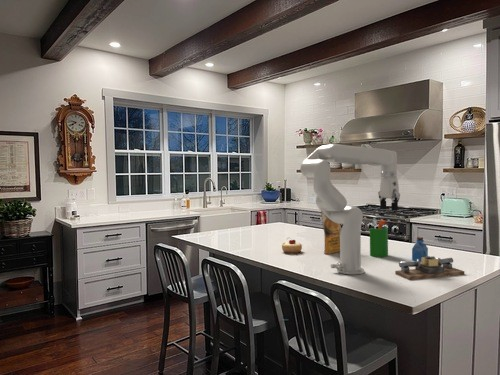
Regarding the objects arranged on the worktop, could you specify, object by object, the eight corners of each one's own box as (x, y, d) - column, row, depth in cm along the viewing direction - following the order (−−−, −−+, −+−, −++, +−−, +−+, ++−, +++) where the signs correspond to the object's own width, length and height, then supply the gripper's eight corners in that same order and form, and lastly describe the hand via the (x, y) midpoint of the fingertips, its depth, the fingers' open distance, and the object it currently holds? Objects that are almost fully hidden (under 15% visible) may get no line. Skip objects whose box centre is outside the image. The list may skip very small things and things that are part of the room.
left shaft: (416, 273, 179) (416, 258, 179) (421, 275, 175) (421, 260, 175) (398, 274, 179) (398, 259, 178) (402, 276, 175) (402, 261, 174)
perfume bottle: (415, 258, 209) (415, 236, 209) (427, 259, 206) (427, 237, 205) (412, 260, 205) (412, 238, 204) (424, 262, 201) (424, 239, 200)
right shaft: (441, 274, 178) (441, 258, 177) (433, 271, 181) (433, 257, 181) (454, 271, 181) (454, 256, 181) (447, 269, 185) (447, 255, 185)
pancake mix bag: (317, 253, 225) (316, 205, 224) (336, 248, 238) (336, 203, 237) (326, 255, 220) (326, 206, 219) (346, 250, 233) (345, 204, 232)
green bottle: (376, 252, 224) (376, 218, 223) (391, 255, 218) (391, 219, 217) (367, 255, 217) (367, 220, 216) (382, 258, 211) (382, 221, 210)
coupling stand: (408, 279, 169) (408, 270, 169) (395, 274, 179) (395, 265, 179) (464, 274, 176) (464, 265, 176) (448, 269, 186) (448, 260, 186)
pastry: (301, 255, 224) (301, 240, 223) (280, 254, 226) (280, 239, 225) (302, 250, 235) (302, 236, 234) (283, 249, 238) (283, 235, 237)
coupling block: (438, 272, 176) (438, 257, 175) (428, 272, 174) (428, 258, 174) (430, 269, 180) (430, 255, 180) (421, 270, 179) (421, 256, 179)
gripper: (406, 175, 185) (406, 211, 186) (385, 175, 202) (385, 207, 203) (392, 176, 184) (392, 211, 184) (372, 175, 200) (372, 208, 201)
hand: (388, 209), depth 194 cm, fingers open, 9 cm apart
